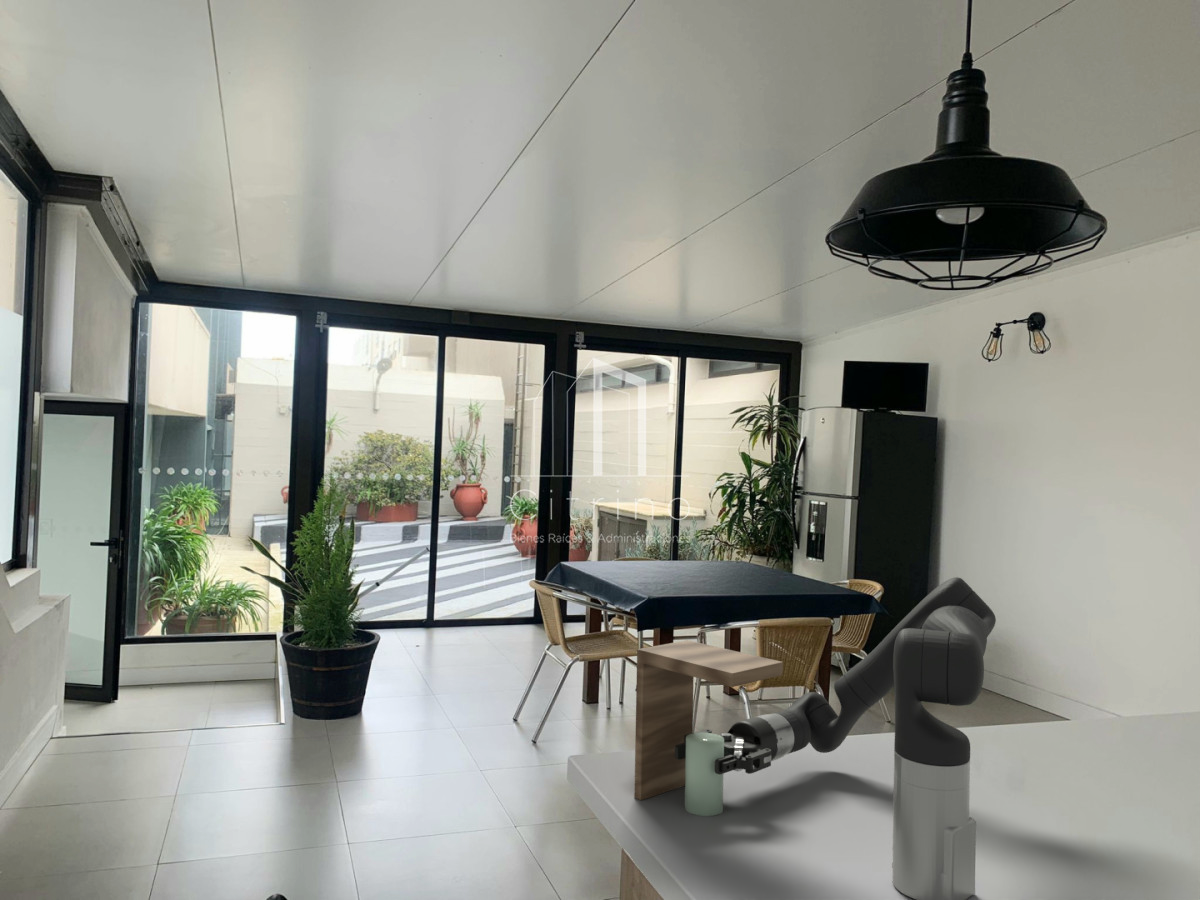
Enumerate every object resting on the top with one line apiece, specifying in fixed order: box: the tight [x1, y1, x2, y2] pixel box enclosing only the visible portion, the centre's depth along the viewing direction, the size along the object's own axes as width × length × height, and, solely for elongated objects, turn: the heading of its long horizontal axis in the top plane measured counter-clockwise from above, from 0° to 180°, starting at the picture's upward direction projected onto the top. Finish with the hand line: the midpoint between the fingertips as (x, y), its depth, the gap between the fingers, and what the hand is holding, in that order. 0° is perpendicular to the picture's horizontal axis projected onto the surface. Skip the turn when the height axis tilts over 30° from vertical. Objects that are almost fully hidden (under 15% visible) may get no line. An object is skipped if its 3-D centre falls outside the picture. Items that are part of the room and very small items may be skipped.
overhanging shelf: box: [633, 639, 784, 801], centre depth 139 cm, size 20×12×24 cm, turn 41°
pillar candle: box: [684, 732, 725, 817], centre depth 138 cm, size 6×6×11 cm
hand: (696, 760), depth 137 cm, fingers open, 8 cm apart
